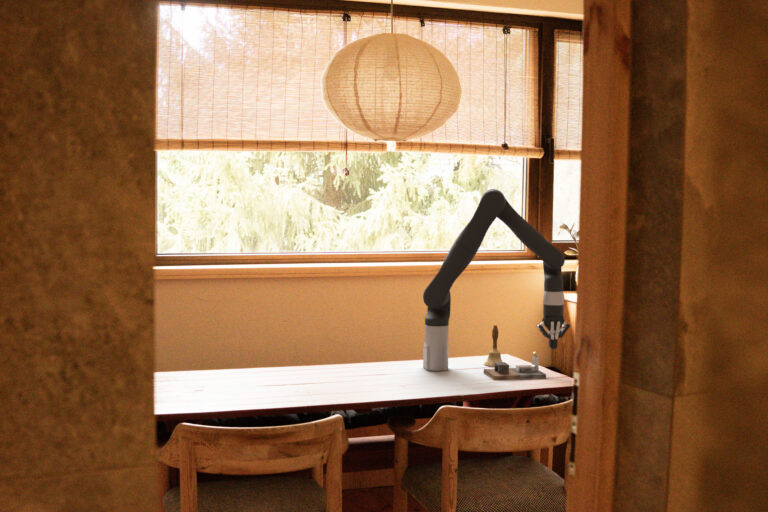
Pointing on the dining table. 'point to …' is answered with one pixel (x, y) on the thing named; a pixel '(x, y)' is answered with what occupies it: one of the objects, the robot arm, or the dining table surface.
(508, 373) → the lock plate
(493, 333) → the hand bell
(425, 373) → the dining table surface
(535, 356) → the bolt
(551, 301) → the robot arm
